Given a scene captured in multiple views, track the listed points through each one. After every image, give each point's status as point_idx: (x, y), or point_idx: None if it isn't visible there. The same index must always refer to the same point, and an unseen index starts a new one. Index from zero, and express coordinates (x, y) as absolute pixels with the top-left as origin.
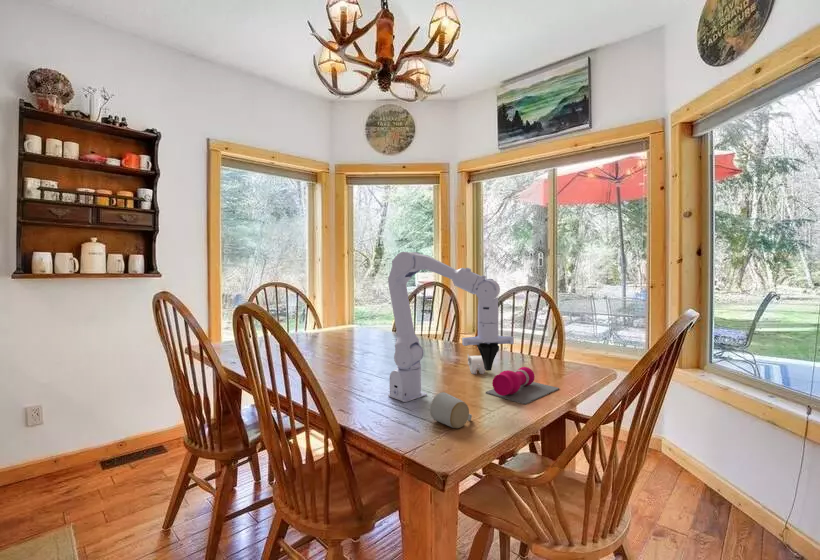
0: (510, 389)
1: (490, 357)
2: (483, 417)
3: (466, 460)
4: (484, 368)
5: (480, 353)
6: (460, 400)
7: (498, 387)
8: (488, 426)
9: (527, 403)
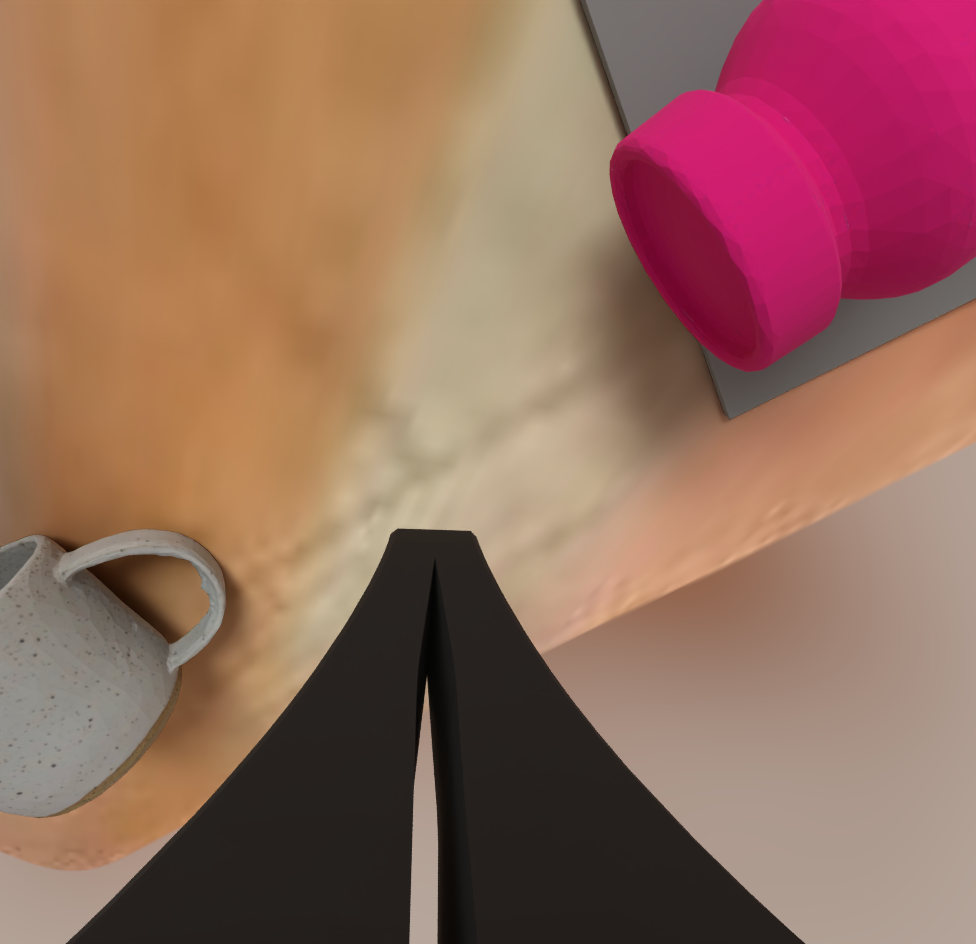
0: (714, 352)
1: (439, 879)
2: (325, 556)
3: (155, 840)
4: (389, 539)
5: (241, 765)
6: (62, 795)
7: (662, 199)
8: (318, 654)
9: (754, 400)
